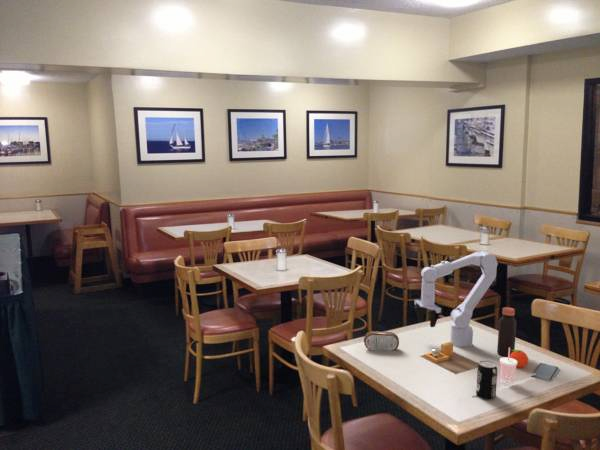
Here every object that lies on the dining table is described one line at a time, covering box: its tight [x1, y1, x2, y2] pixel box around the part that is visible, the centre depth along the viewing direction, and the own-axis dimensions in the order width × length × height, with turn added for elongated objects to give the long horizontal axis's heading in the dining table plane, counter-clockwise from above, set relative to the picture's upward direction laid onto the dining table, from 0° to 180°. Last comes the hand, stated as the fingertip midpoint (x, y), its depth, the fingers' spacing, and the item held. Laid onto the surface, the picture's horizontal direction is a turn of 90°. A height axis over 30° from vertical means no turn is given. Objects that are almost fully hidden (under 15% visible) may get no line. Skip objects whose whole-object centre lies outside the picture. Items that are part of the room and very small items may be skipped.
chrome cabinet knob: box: [430, 347, 441, 358], centre depth 216 cm, size 3×3×4 cm
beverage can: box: [475, 360, 499, 400], centre depth 184 cm, size 7×7×12 cm
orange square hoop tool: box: [423, 341, 454, 363], centre depth 217 cm, size 12×7×5 cm, turn 120°
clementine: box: [509, 349, 529, 369], centre depth 210 cm, size 8×7×7 cm
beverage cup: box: [499, 347, 517, 387], centre depth 194 cm, size 6×6×14 cm
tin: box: [363, 330, 400, 351], centre depth 225 cm, size 15×3×8 cm, turn 84°
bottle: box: [496, 306, 517, 357], centre depth 222 cm, size 7×7×20 cm
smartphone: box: [530, 362, 560, 382], centre depth 205 cm, size 7×1×15 cm
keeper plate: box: [419, 350, 479, 375], centre depth 214 cm, size 16×20×1 cm
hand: (426, 324), depth 232 cm, fingers open, 7 cm apart
